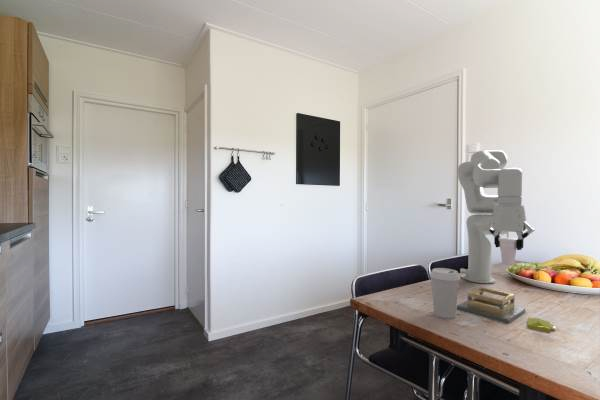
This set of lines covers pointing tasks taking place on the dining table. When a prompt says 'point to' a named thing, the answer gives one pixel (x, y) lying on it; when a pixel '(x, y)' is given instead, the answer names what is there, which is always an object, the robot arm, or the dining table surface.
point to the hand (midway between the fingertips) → (508, 247)
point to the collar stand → (492, 305)
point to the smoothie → (508, 249)
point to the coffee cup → (444, 291)
